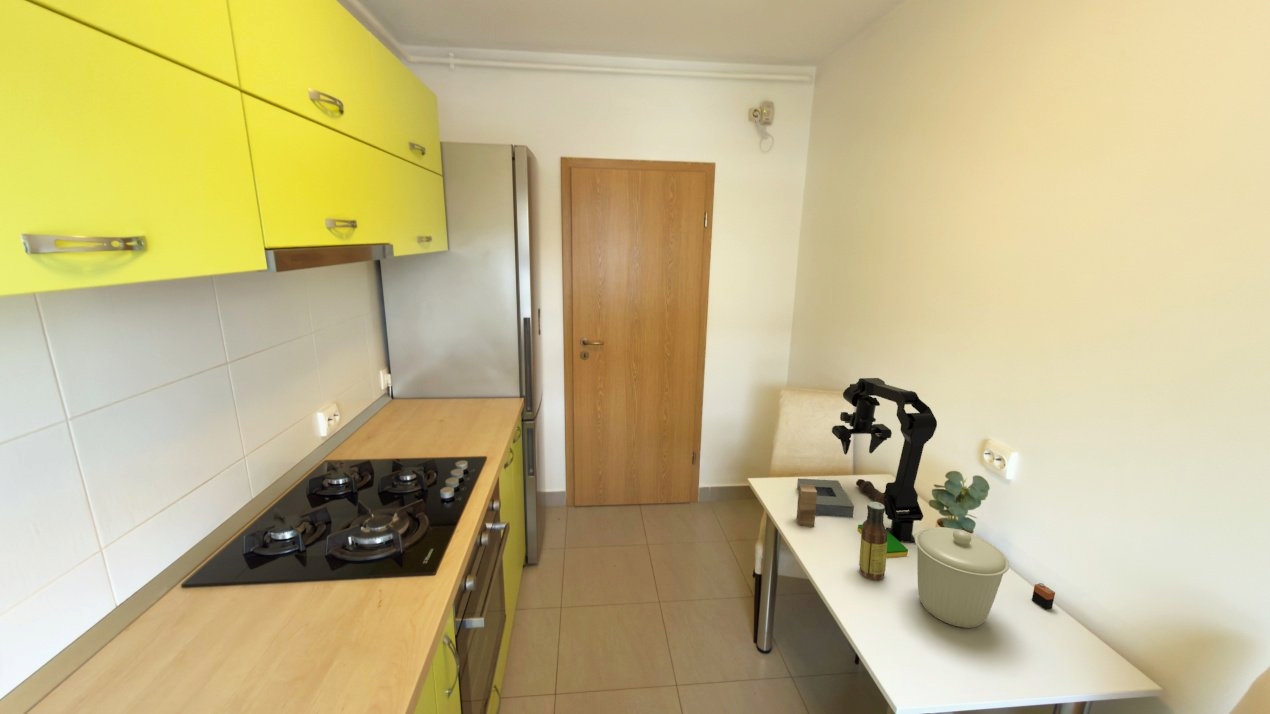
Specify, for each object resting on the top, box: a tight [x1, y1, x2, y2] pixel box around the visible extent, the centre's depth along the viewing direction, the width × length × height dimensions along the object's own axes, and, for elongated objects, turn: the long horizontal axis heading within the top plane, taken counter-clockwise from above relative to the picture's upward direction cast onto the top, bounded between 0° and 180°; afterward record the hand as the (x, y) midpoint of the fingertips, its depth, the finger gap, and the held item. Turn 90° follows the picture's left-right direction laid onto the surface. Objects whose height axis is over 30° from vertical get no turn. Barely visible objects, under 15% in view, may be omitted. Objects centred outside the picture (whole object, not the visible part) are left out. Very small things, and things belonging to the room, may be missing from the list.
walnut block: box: [795, 484, 817, 528], centre depth 148 cm, size 4×4×12 cm
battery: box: [1031, 582, 1056, 610], centre depth 114 cm, size 2×3×5 cm, turn 12°
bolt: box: [855, 478, 885, 505], centre depth 165 cm, size 6×5×15 cm
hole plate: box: [796, 477, 855, 519], centre depth 161 cm, size 18×14×4 cm
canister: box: [914, 526, 1010, 629], centre depth 110 cm, size 18×18×21 cm
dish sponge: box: [857, 523, 909, 559], centre depth 139 cm, size 7×14×2 cm, turn 6°
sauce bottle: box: [858, 501, 887, 581], centre depth 124 cm, size 7×6×20 cm
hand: (857, 453), depth 164 cm, fingers open, 9 cm apart
